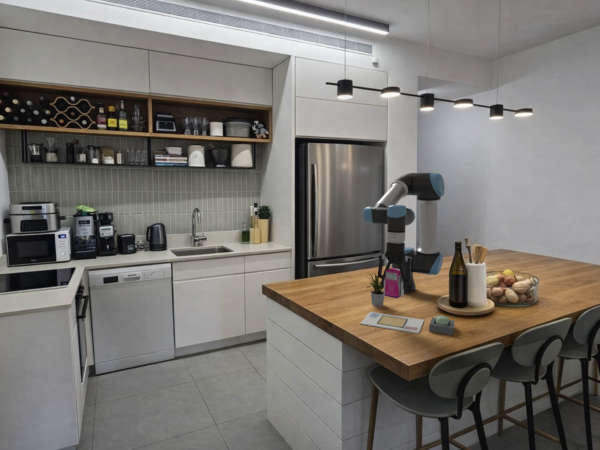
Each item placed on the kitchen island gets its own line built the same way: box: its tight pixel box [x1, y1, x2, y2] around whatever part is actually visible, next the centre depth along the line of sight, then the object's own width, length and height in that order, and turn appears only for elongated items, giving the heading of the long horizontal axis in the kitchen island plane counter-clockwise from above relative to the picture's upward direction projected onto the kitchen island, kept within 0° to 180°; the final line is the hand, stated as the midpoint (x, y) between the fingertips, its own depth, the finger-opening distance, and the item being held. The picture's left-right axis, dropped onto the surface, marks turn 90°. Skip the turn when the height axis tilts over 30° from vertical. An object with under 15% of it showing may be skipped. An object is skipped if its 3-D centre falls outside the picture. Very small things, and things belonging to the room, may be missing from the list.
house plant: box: [364, 272, 386, 307], centre depth 195 cm, size 14×14×16 cm
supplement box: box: [385, 267, 403, 299], centre depth 170 cm, size 6×6×12 cm
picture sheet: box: [359, 311, 425, 335], centre depth 172 cm, size 16×24×1 cm, turn 66°
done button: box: [435, 315, 450, 326], centre depth 164 cm, size 5×5×4 cm
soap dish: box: [428, 317, 456, 336], centre depth 165 cm, size 9×9×3 cm
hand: (393, 295), depth 170 cm, fingers closed on supplement box, 6 cm apart
